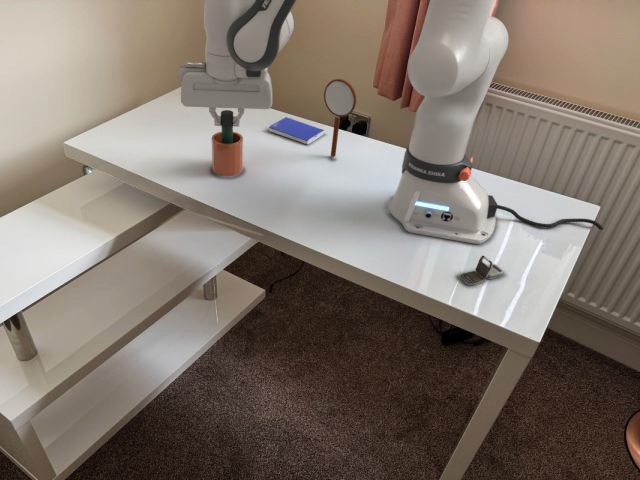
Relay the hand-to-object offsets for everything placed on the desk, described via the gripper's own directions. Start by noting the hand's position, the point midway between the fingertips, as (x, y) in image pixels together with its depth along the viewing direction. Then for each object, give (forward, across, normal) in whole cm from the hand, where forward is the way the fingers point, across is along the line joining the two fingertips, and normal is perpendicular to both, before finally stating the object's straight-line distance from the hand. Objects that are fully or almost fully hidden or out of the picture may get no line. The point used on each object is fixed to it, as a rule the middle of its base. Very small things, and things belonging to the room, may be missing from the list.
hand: (227, 125), depth 131 cm
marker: (+11, 0, 0) cm, 11 cm away
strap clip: (+12, +51, -37) cm, 64 cm away
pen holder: (+12, 0, 0) cm, 12 cm away
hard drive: (+12, +17, +22) cm, 30 cm away
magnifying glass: (+12, +26, +8) cm, 29 cm away
